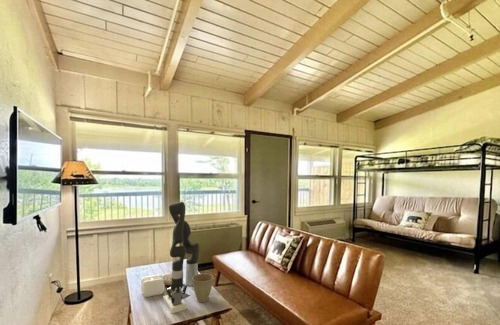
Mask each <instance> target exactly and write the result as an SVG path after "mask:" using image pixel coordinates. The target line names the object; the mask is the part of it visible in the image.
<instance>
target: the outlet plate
mask: <svg viewBox="0 0 500 325" xmlns="http://www.w3.org/2000/svg"><path fill="white" fill-rule="evenodd" d="M162 300H163V303H164V304H165V306H166V308H167V309H168V311H169V313H170V314H174V313H175V314H176V313H178V312H182V311H186V310H187V306H188V305H187V303H186V302H185V301H184V298H183V299H182V300H181V304H180V305H176V306H173V304H172V302H171V298H170V297H169V296H168V294H165V295H163V296H162Z"/></svg>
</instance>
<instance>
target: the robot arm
mask: <svg viewBox="0 0 500 325" xmlns="http://www.w3.org/2000/svg"><path fill="white" fill-rule="evenodd" d="M168 211H169V213H170V216H171V217H172V220H173V221H174V223H175V225H174V228H173V231H172V244H171V247H170V250H169V256H170V257H171V258H178V259H175V260H173V261H172V264H171V265H172V266H171V269H172V270H171V285H170V287H167V288H166V292H167V295H168V296H169V297H170V298H171V302H172V303H174V294H175V293H176V292H179V291H180V292H181V300H182V295H183V294H185V293H186V292H187V288H188V287H193V280H192V278H193V276H195V275H197V274H199V271H198V268H199V267H198V264H199V263H198V262H199V252H200V245H199V243H198V242H191V241H190V239H189V238H190V236H191V234H192V230H191V226H190V224H189V223H188V222H187V221H186V220H185V216H186V205H185V202H183V201H177V202H172V203H170V204H169V205H168ZM181 243H182V245H179V244H181ZM177 245H179V246H177ZM186 254H188V255H191V256H190V257H187V259H186V262H185V263H186V264H185V283H184V260H185V257H186Z"/></svg>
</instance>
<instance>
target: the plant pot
mask: <svg viewBox="0 0 500 325" xmlns="http://www.w3.org/2000/svg"><path fill="white" fill-rule="evenodd" d="M192 280H193V286H192V287H193V291H194V295H195V298H196V299H197V300H196V301H197V302H199V303H205V302H208V300H209V296H210V294H211V291H212V287H213V282H214V275H213V274H211V273H207V272H206V273H205V272H204V273H203V272H202V273H198V274H197V275H195V276H193V278H192Z"/></svg>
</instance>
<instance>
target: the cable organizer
mask: <svg viewBox="0 0 500 325" xmlns="http://www.w3.org/2000/svg"><path fill="white" fill-rule="evenodd" d="M140 283H141V284H140V290H141V292H142V296H143V297H144V298H149V297H152V296H159V295H160V296H161V295H162V294H163V293H164V290H165V288H164V287H165V280H164V278H163V276H162V274H153V275H148V276H147V275H146V276H143V277H141V280H140Z"/></svg>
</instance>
